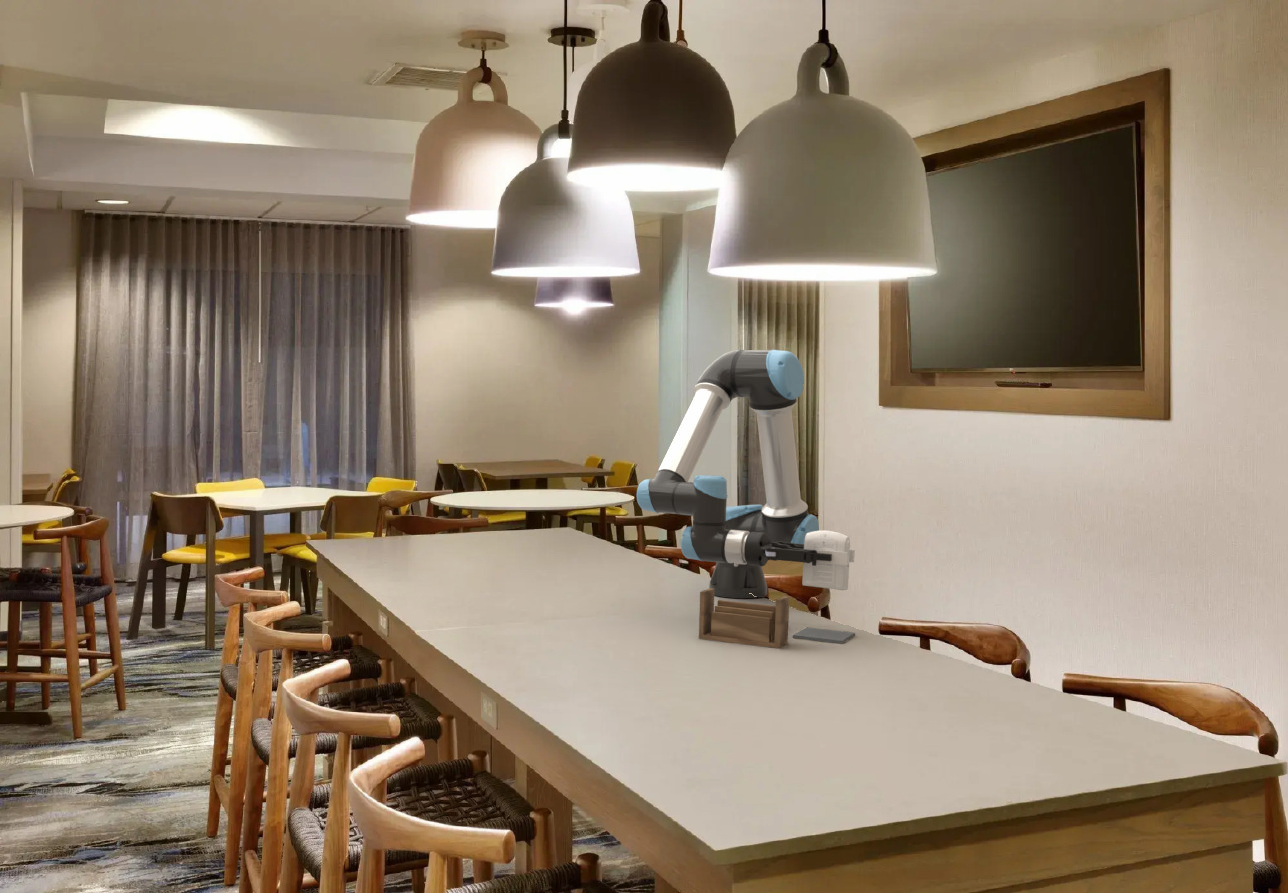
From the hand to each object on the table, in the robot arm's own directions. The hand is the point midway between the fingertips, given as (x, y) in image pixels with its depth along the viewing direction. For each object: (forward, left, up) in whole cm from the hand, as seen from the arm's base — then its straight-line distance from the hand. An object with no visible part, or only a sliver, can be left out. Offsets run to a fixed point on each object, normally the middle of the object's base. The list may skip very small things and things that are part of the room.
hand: (850, 557), depth 258 cm
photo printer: (0, -5, -7) cm, 9 cm away
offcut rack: (+14, -19, -18) cm, 29 cm away
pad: (0, -5, -18) cm, 19 cm away
